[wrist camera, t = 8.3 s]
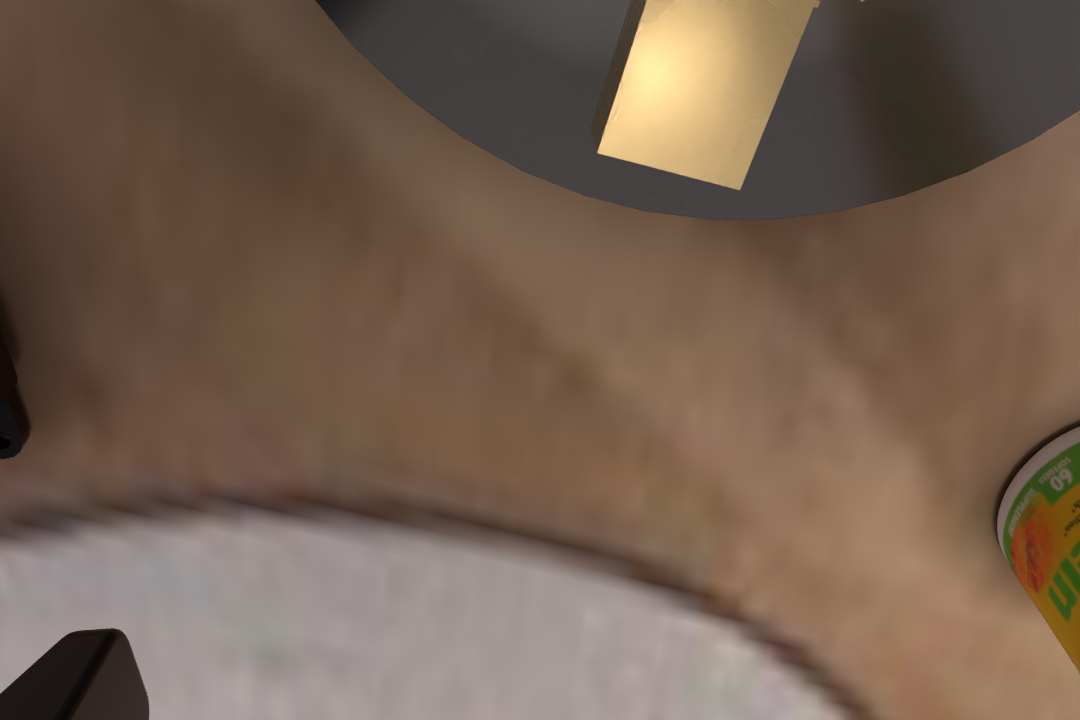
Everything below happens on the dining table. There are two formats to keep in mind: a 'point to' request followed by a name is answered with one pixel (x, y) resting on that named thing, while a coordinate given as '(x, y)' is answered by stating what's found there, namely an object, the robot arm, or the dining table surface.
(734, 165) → the colourful block cluster
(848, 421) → the dining table surface
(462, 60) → the cap plate
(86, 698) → the robot arm
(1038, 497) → the supplement bottle
